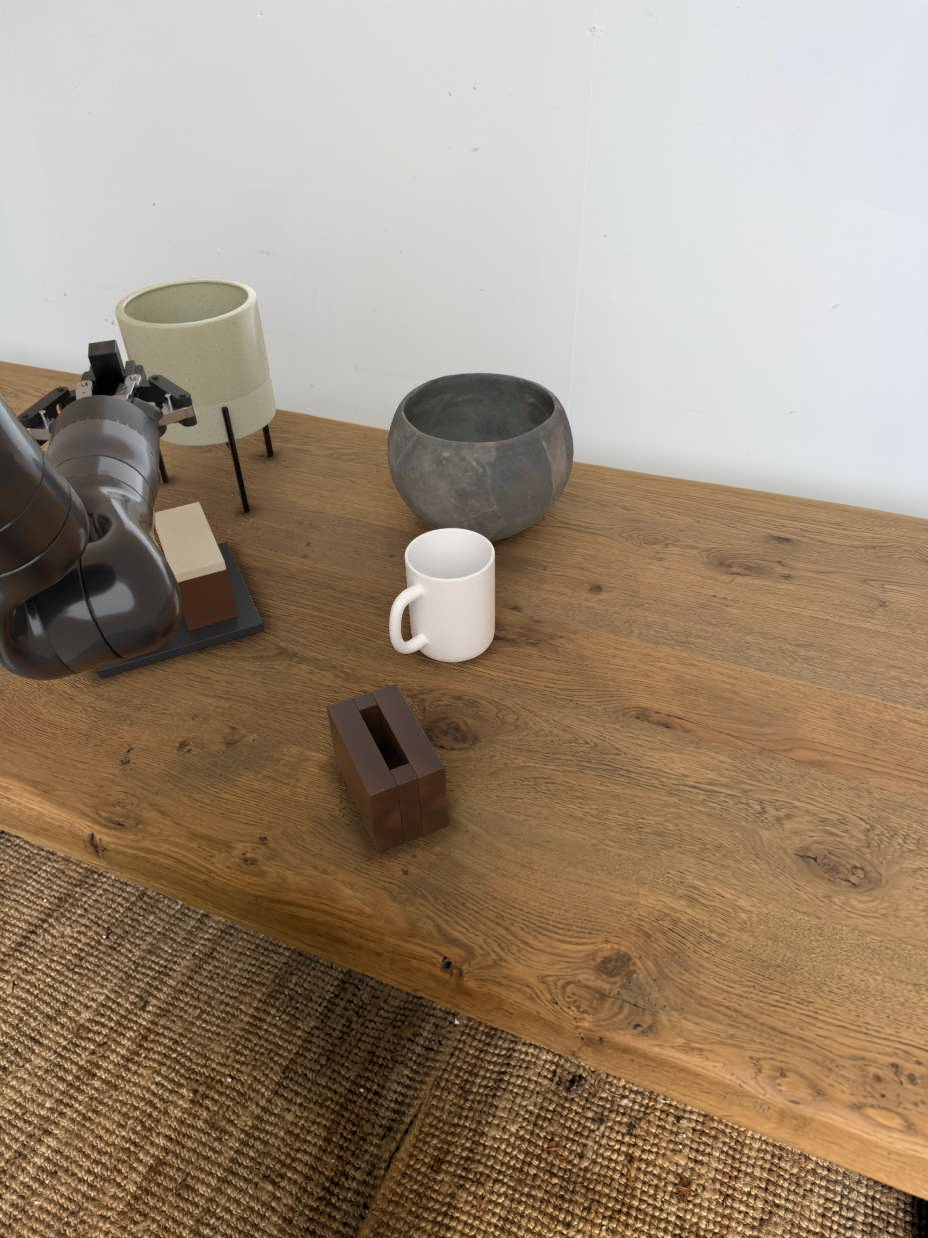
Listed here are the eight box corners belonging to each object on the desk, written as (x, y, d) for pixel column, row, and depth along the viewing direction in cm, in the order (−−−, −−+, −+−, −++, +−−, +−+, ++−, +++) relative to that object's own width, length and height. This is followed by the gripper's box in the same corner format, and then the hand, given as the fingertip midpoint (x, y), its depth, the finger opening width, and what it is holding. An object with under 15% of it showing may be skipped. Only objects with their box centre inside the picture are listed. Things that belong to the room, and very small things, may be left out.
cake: (100, 679, 82) (73, 614, 77) (82, 587, 93) (57, 525, 88) (264, 630, 87) (250, 566, 82) (228, 548, 98) (213, 488, 93)
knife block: (377, 854, 66) (368, 796, 62) (336, 764, 73) (325, 706, 69) (448, 826, 68) (445, 767, 64) (401, 741, 75) (396, 683, 71)
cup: (512, 634, 86) (513, 550, 79) (425, 697, 79) (419, 612, 73) (452, 599, 90) (449, 517, 84) (366, 657, 84) (355, 573, 77)
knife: (141, 533, 78) (87, 363, 68) (139, 499, 82) (88, 335, 72) (166, 528, 78) (116, 359, 68) (163, 495, 83) (116, 332, 73)
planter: (181, 452, 116) (135, 277, 101) (297, 452, 115) (269, 276, 101) (144, 514, 104) (86, 326, 90) (274, 514, 104) (237, 325, 89)
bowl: (358, 520, 102) (344, 402, 93) (485, 460, 112) (484, 349, 103) (473, 597, 90) (470, 472, 81) (603, 523, 101) (615, 403, 91)
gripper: (190, 407, 61) (187, 320, 74) (-21, 435, 58) (15, 340, 71) (213, 498, 65) (206, 402, 78) (19, 528, 63) (45, 423, 76)
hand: (115, 373), depth 75 cm, fingers closed on knife, 2 cm apart
